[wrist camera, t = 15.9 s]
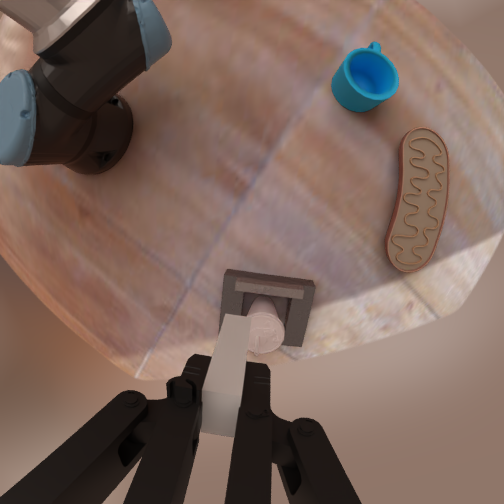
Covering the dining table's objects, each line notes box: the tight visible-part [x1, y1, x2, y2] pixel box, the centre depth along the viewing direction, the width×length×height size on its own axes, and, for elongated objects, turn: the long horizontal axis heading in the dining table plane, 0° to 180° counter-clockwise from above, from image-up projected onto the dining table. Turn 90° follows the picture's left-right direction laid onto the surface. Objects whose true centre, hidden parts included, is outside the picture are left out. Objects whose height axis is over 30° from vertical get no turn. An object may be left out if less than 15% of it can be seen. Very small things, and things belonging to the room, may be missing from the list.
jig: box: [218, 269, 315, 347], centre depth 45 cm, size 14×11×5 cm
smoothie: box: [246, 296, 285, 356], centre depth 41 cm, size 6×6×14 cm
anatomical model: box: [385, 127, 450, 273], centre depth 39 cm, size 23×10×5 cm, turn 173°
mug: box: [331, 42, 399, 112], centre depth 33 cm, size 12×8×8 cm
